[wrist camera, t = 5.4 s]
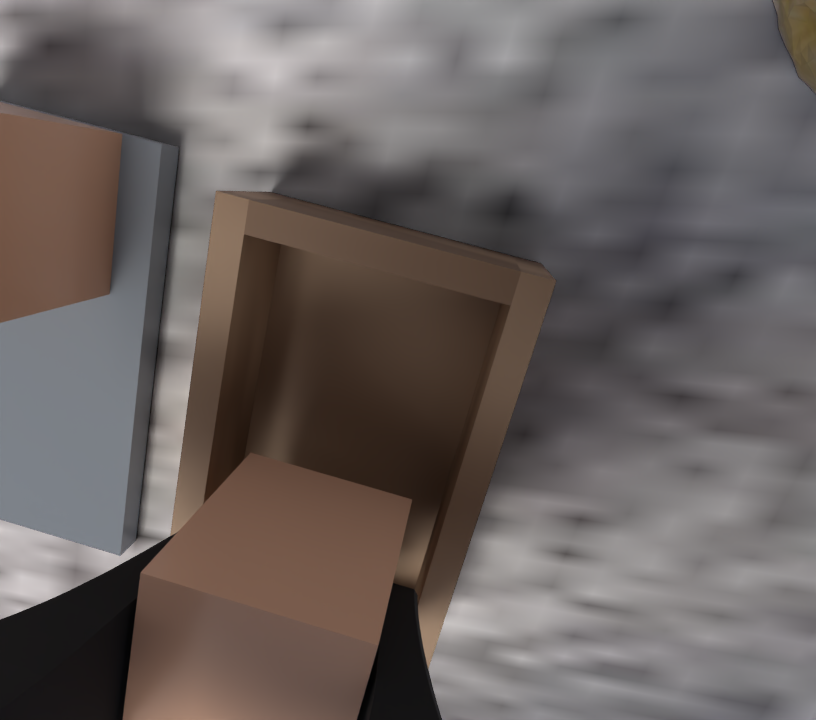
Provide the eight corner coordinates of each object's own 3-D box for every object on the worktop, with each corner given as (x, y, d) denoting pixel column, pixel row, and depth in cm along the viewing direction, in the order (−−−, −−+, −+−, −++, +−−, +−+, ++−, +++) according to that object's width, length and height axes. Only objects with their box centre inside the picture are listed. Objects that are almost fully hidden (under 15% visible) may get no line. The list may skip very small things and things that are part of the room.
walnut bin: (429, 614, 17) (418, 698, 14) (212, 549, 17) (159, 619, 15) (541, 263, 14) (556, 280, 11) (270, 191, 14) (215, 190, 11)
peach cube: (374, 632, 14) (328, 818, 10) (226, 587, 14) (118, 750, 10) (412, 499, 13) (378, 645, 9) (250, 452, 13) (140, 572, 9)
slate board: (135, 540, 18) (120, 555, 17) (-25, 492, 18) (-47, 505, 17) (179, 147, 14) (161, 144, 13) (-24, 94, 14) (-51, 88, 14)
